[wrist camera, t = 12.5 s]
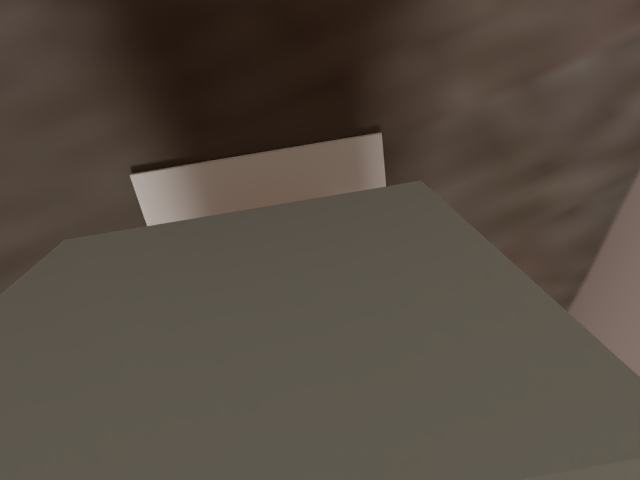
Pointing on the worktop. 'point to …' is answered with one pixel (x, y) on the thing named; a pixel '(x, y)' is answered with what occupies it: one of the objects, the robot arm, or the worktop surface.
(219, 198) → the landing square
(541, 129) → the worktop surface
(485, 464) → the pale sage box
